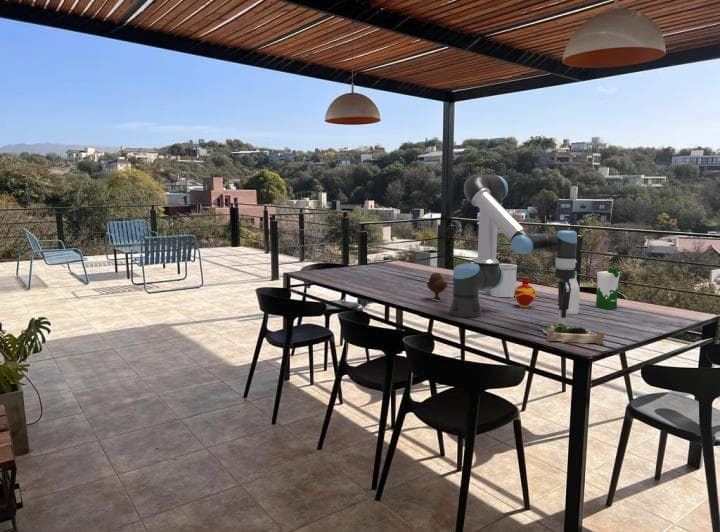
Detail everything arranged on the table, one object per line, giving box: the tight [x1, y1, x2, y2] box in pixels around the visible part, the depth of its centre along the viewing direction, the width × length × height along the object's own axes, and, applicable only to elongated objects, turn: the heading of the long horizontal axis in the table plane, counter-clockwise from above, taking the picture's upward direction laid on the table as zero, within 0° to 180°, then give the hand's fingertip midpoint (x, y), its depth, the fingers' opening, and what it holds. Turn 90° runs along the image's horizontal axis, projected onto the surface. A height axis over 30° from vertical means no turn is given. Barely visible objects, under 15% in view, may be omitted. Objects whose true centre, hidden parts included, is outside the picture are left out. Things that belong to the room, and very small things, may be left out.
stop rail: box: [546, 329, 605, 345], centre depth 186 cm, size 19×3×4 cm, turn 80°
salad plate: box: [537, 322, 593, 335], centre depth 198 cm, size 19×18×5 cm
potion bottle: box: [514, 276, 537, 309], centre depth 251 cm, size 10×10×15 cm
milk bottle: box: [567, 270, 580, 315], centre depth 236 cm, size 8×8×20 cm
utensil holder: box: [489, 263, 518, 298], centre depth 281 cm, size 15×15×18 cm
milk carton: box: [595, 267, 621, 310], centre depth 249 cm, size 9×9×20 cm
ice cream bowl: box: [426, 272, 448, 300], centre depth 267 cm, size 11×11×15 cm
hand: (562, 324), depth 208 cm, fingers closed
